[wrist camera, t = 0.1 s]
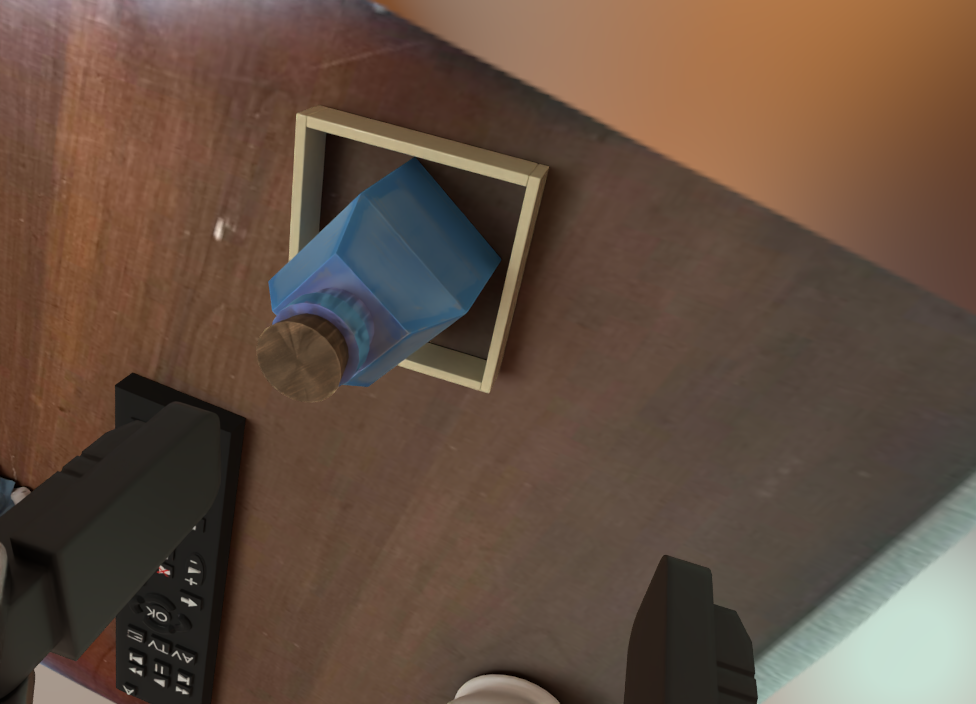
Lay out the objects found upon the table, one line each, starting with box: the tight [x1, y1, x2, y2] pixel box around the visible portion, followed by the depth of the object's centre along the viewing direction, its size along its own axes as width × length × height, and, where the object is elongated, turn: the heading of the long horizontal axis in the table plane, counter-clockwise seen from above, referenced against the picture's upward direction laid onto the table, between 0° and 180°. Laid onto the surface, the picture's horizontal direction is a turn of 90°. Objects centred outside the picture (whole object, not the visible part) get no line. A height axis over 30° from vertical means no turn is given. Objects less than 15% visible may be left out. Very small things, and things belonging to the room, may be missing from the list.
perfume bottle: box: [256, 157, 502, 403], centre depth 29 cm, size 6×6×12 cm
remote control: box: [115, 373, 246, 704], centre depth 50 cm, size 8×32×2 cm, turn 164°
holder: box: [289, 105, 549, 393], centre depth 33 cm, size 11×11×2 cm
